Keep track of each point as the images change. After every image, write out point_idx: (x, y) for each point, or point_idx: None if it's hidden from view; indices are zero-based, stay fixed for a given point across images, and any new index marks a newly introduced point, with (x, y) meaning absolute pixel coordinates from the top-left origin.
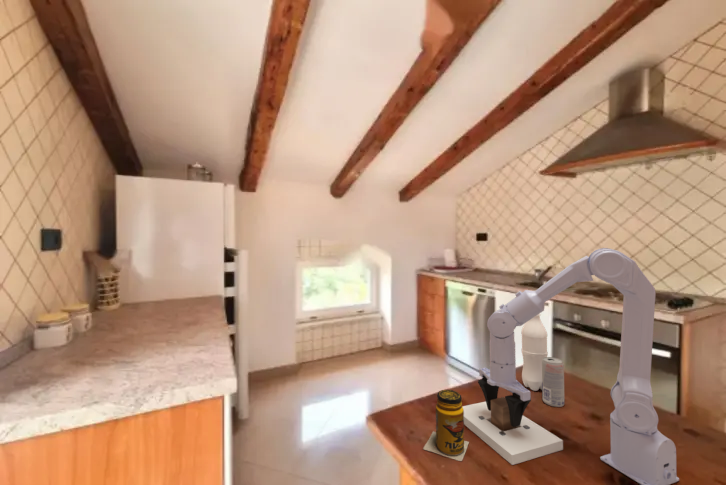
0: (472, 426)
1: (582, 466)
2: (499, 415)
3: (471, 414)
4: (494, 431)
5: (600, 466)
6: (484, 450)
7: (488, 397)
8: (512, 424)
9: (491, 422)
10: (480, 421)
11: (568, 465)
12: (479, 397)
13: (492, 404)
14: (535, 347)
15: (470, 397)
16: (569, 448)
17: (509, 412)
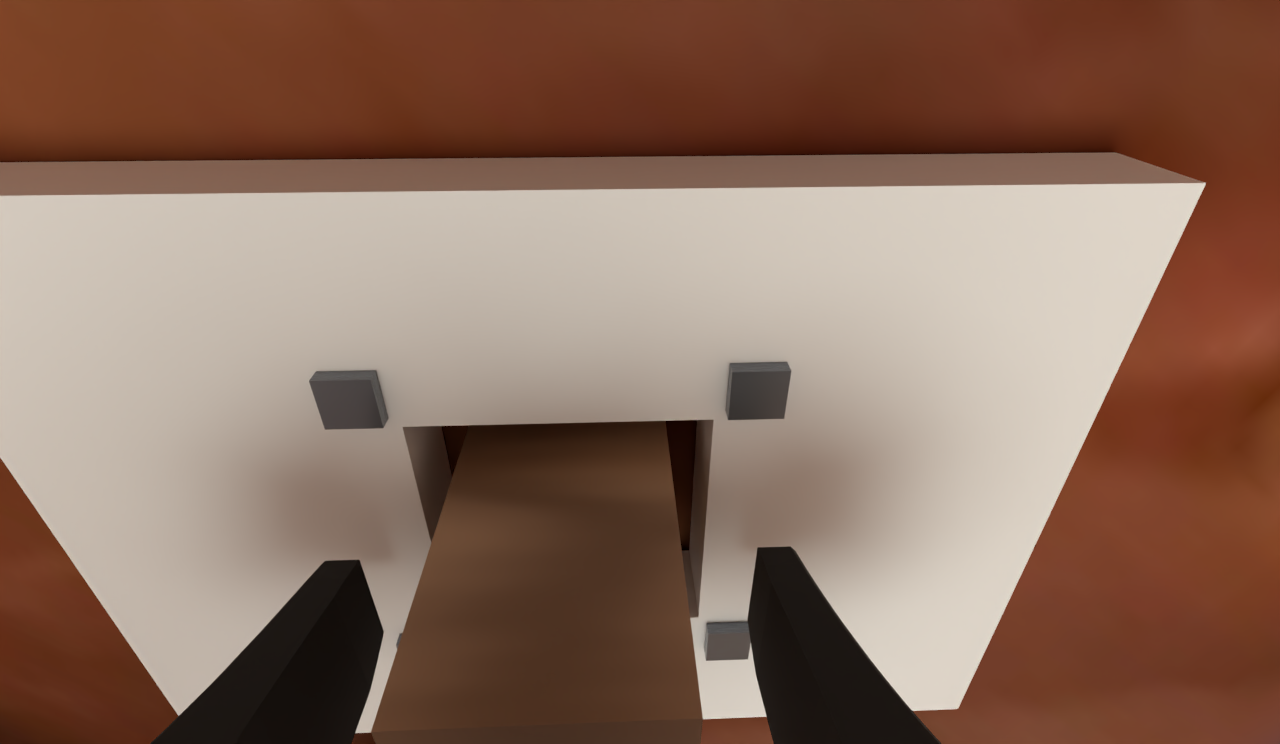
0: (702, 173)
1: (27, 649)
2: (493, 572)
3: (902, 325)
4: (423, 343)
5: (41, 719)
6: (266, 19)
7: (823, 723)
8: (306, 582)
9: (659, 442)
10: (697, 327)
11: (28, 590)
12: (1135, 609)
13: (651, 658)
14: None
15: (1206, 549)
16: None
17: (241, 727)
